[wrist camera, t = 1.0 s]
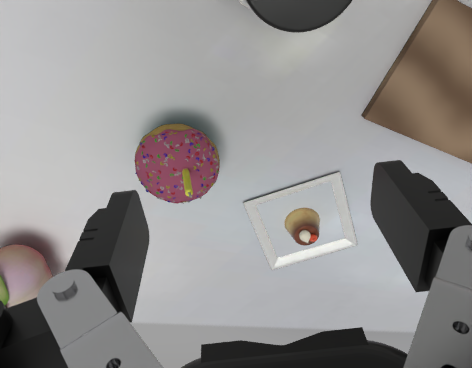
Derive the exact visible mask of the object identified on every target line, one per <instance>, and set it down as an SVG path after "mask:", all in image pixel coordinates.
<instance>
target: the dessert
mask: <svg viewBox="0 0 472 368" xmlns="http://www.w3.org/2000/svg"><path fill="white" fill-rule="evenodd" d="M326 182H331V184H332V188H333V192H334V196H335V200H336V204H337V208H338V212H339V216H340V220H341V224H342V227H343V231H344V235H345V238H344V239H341V240H337V241H334V242H331V243H327V244H324V245H320V246H317V247H313V248H310V249H307V250H303V251H300V252H296V253H293V254H290V255H286V256H283V257H279V258H278V257H277V256H276V253H275V251H274V248H273V246H272V243H271V241H270V239H269V236H268V234H267V231H266V229H265V226H264V224H263V222H262V219H261V217H260V214H259V212H258V209H257V207H256V205H258V204H261V203H264V202H267V201H270V200H273V199H277V198H280V197H283V196H286V195H289V194H292V193H295V192H298V191H301V190H304V189H308V188H311V187H314V186H317V185H320V184H323V183H326ZM243 204H244V207H245V209H246V211H247V214H248V216H249V218H250V221H251V223H252V225H253V228H254V230H255V233H256V235H257V237H258V240H259V242H260V244H261V247H262V249H263V252H264V254H265V256H266V259H267V261H268V263H269V266H270V268H271V270H275V269H278V268H282V267H285V266H289V265H292V264H295V263H299V262H302V261H306V260H309V259H312V258H316V257H319V256H323V255H326V254H329V253H333V252H336V251H340V250H343V249H346V248H350V247H353V246H357V245H358V243H357V239H356V235H355V231H354V227H353V223H352V219H351V214H350V210H349V206H348V202H347V198H346V194H345V190H344V186H343V181H342V177H341V173H340V172H337V173H334V174H331V175H328V176H325V177H321V178H318V179H315V180H312V181H309V182H306V183H303V184H300V185H297V186H293V187H290V188H287V189H284V190H281V191H278V192H275V193H272V194H269V195H266V196H262V197H259V198H256V199H253V200H250V201H247V202H244V203H243ZM319 224H320V218H319V215H318V213H317V212H316V211H314V210H312V209H309V208H299V209H296V210H294V211H292V212H291V213H290V214H289V215H288V216H287V217H286V219H285V228H286V230H287V231H288V232H289V233H290V235H291V236H292V237H293V239H294V240H295V241H296V242H297V243H298V244H300V245H310V244H312V243H314V242H315V241H316V240H317V239H318V237H319Z"/></svg>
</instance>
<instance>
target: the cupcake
mask: <svg viewBox="0 0 472 368" xmlns="http://www.w3.org/2000/svg"><path fill="white" fill-rule="evenodd" d="M134 161H135V167H136V174H137V176H138V178H139V181H140V182H141V184H142V185H143V186H144V187H145V188H146V192H150V193H151V194H153V195H154V196H156V197H157V198H158V199H159V198H160V199H162V200H165V201H168V202H172V203H183V202H190V201H192V200H194V199H197V198H199V197H200V199H201V197H202V196H203V195H204V194H206V193H207V192H208V190H209V189H210V188H211V187H212V186H213V184H214V183H215V182H216V180H217V177H218V173H219V155H218V151H217V148H216V146H215V144H214V143H213V142H212V141H211V140H210V139H209V138H208V137H207V136H206V135H205V134H204V133H203V132H201V131H199V130H196V129H194V128H192V127H189V126H187V125H184V124H166V125H162V126H159V127H157V128H156V129H154V130H153V131H151V132H150V133H149V134H147V135H145V136H144V137H143V138H142V140H141V142H140V144H139V146H138V148H137V150H136V154H135V160H134Z"/></svg>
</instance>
